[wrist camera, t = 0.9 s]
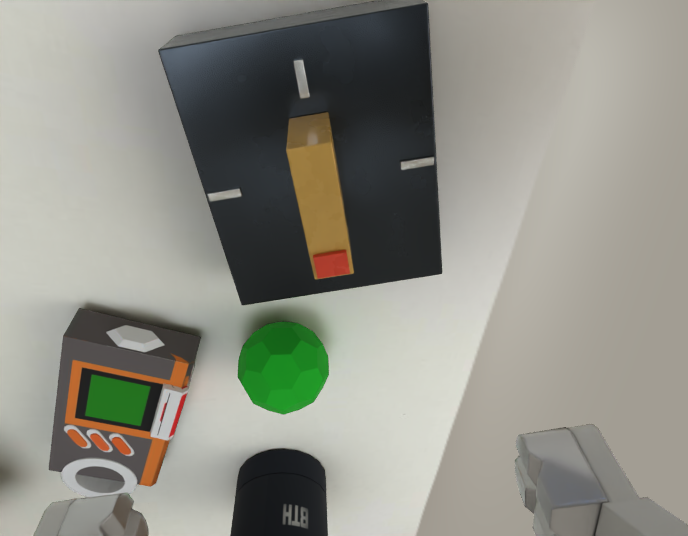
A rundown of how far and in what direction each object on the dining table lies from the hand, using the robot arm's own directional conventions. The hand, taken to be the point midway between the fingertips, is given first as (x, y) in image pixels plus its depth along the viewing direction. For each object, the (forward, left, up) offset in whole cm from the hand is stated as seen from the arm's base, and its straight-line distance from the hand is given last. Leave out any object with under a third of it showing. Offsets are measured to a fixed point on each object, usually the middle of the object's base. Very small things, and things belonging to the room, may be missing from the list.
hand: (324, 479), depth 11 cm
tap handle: (-1, 0, -14) cm, 14 cm away
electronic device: (+13, -15, -17) cm, 26 cm away
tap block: (-1, 0, -17) cm, 17 cm away
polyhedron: (+10, -4, -17) cm, 20 cm away
